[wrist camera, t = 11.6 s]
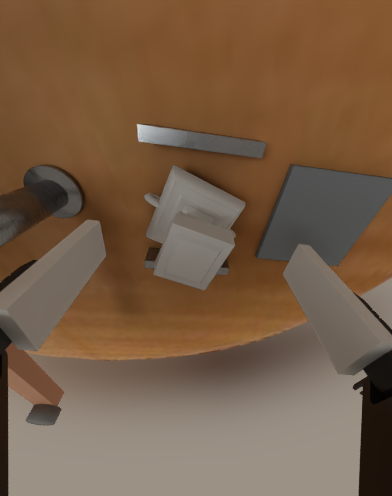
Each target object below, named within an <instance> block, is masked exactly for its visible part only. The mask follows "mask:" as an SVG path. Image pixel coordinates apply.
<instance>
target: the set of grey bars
mask: <svg viewBox="0 0 392 496" xmlns="http://www.w3.org/2000/svg"><path fill="white" fill-rule="evenodd" d="M137 128H138V141H140V142H147V143H154V144H161V145H169V146H176V147H183V148H190V149H198V150H205V151H212V152H219V153H227V154H234V155H241V156H248V157H256V158H262V157H263V153H264V150H265V147H266V143H265V142H262V141H258V140H252V139H245V138H238V137H231V136H224V135H217V134H210V133H204V132H197V131H190V130H183V129H176V128H169V127H162V126H155V125H148V124H137ZM83 206H84V194H83V191H82V189H81V187H80V186H79V184H78V183H77V181H76V180H75V179H74V178H73V177H72V176H71V175H70V174H68V173H67V172H65V171H64V170H62V169H60V168H58V167H55V166H51V165H40V166H36V167H33V168H31V169H29V170H28V171H27V172H26V174H25V176H24V187H23V188H21V189H18V190H15V191H13V192H10V193H7V194H4V195H2V196H0V247H1V246H3V245H5V244H6V243H8V242H9V241H11V240H12V239H14V238H16V237H17V236H19V235H20V234H22V233H24V232H25V231H27V230H28V229H30V228H31V227H33V226H35V225H36V224H38V223H39V222H41V221H42V220H44V219H46V218H47V217H49V216H50V215H52V216H54V217H58V218H70V217H73V216H74V215H76V214H77V213H79V212H80V211H81V210H82V208H83ZM159 251H160V248H150V247H149V250H148V253H147V255H146V258H145V268H153V269H154V267H155V260H156V258H157V256H158V254H159ZM228 270H229V266H228V262H227V258H226V260H225V261H224V263H223V264H222V266H221V267H220V269H219V270H218V272H217V273H216V274H221V275H227V274H228Z"/></svg>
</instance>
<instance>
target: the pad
mask: <svg viewBox="0 0 392 496" xmlns="http://www.w3.org/2000/svg"><path fill="white" fill-rule="evenodd" d="M391 194H392V178H386V177H379V176H372V175H365V174H357V173H350V172H343V171H335V170H328V169H321V168H314V167H306V166H299V165H292V164H291V165H290V168H289V170H288V173H287V175H286V178H285V181H284V183H283V186H282V188H281V191H280V193H279V196H278V199H277V201H276V204H275V206H274V209H273V211H272V214H271V217H270V219H269V222H268V224H267V227H266V229H265V232H264V235H263V237H262V240H261V242H260V245H259V247H258V250H257V253H256V257H257V258H260V259H271V260H281V261H290V259H291V257H292V255H293V253H294V252H295V250H296V248H297V246H298V244H304V245H310V246H311V247H312V248H313V250H314V251H315V252H316V253H317V254H318V255H319V256H320V257H321V258H322V259H323V260H324V262H325V263H326V264H327V265H332V266H338V265H339V263H340V262H341V261H342V259H343V258H344V257H345V255H346V254H347V253H348V251H349V250H350V249H351V247H352V246H353V245H354V243H355V242H356V241H357V239H358V238H359V237H360V235H361V234H362V233H363V231H364V230H365V229H366V227H367V226H368V225H369V223H370V222H371V221H372V219H373V218H374V217H375V215H376V214H377V213H378V211H379V210H380V208H381V207H382V206H383V204H384V203H385V202H386V200H387V199H388V198H389V196H390V195H391Z"/></svg>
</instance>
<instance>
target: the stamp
mask: <svg viewBox="0 0 392 496" xmlns="http://www.w3.org/2000/svg"><path fill="white" fill-rule="evenodd" d="M144 198H145V200H146V201H147V202H148V203H149V204H151V205H153V206H155V207H156V209H155V212H154V215H153V217H152V220H151V222H150V225H149V227H148V230H147V232H146V236H147V238H149V239H152V240H154V241H157V242H159V243H162V244H163V245H162V247H161V249H160V251H159V254H158V256H157V258H156V260H155V267H154V273H153V275H156V276H159V277H163V278H166V279H169V280H172V281H175V282H179V283H182V284H185V285H188V286H191V287H194V288H198V289H201V290H204V291H205V289H206V288H207V286H208V285H209V283H210V282H211V280H212V279H213V278H214V276H215V275H216V273H217V272H218V270H219V269H220V267H221V266H222V264H223V263H224V261H225V260H226V258H227V257H228V255H229V254H230V252H231V251H232V249H233V248H234V246H235V243H234V238H235V237H236V234H235V232H234V231H233V230H231V229H230V228H231V226H232V225H233V224H234V222H235V221H236V219H237V218H238V216H239V215H240V213H241V212H242V211H243V209H244V207H245V202H244V201H242V200H240V199H238V198H236V197H234V196H232V195H230V194H228V193H226V192H225V191H223V190H221V189H219V188H217V187H215V186H213V185H211V184H209V183H207V182H206V181H204V180H202V179H200V178H198V177H196V176H194V175H192V174H190V173H188V172H187V171H185V170H183V169H181V168H179V167H177V166H175V165H173V166H172V169H171V172H170V174H169V177H168V179H167V182H166V184H165V187H164V189H163V192H162V194H161V197H160V196H157V195H154V194H151V193H147V194H146V195H145V196H144Z"/></svg>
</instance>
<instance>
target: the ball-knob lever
mask: <svg viewBox="0 0 392 496" xmlns="http://www.w3.org/2000/svg"><path fill="white" fill-rule="evenodd" d="M6 352H7V354H8V386H9V387H10V388H11V389H13V390H14V391H16V392H17V393H18V394H20V395H21V396H23V397H24V398H25V399H27V400H28V401H30V402H31V403H32V404H34V406H33V408H32V410H31V412H30V413H29V415H28V417H27V419H26V421H27V422H28V423H31V424H36V425H54V424H55V422H56V420H57V418H58V416H59V414H60V411H61V408H60V407H58V404H59V402H60V399H61V398H62V395H63V393H64V391H63V390H62V389H61V388H60V387H59V386H58V385H57V384H56V383H55V382H54V381H53V380H52V379H51V378H50V377H49V376H48V375H47V374H46V373H45V372H44V371H43V370H42V369H41V368H40V367H39V366H38V365H37V363H36V362H35V361H33V359H32V358H31V357H30V356H29V355H28V354H27V353H26V352H25V351H24V350H18V349H17V347H16V346H15V345H14V344H13V343H11V344H10V345H9V346H8V347H7V348H6Z"/></svg>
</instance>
